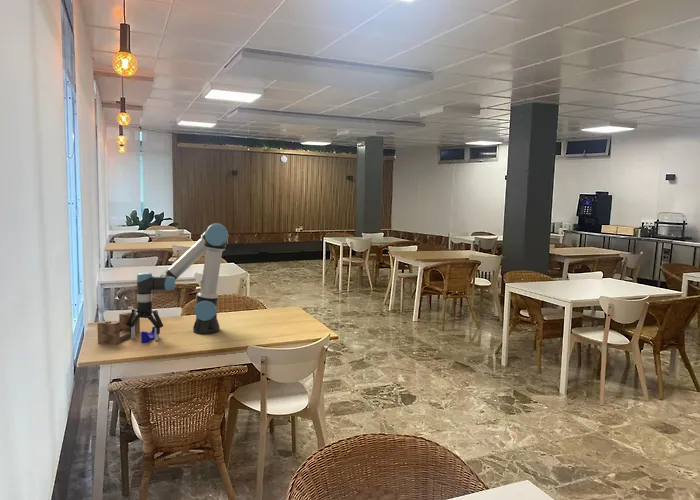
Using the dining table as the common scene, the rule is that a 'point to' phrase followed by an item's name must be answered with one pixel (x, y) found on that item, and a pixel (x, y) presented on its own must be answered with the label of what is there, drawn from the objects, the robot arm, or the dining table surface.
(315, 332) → the dining table surface
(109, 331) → the wooden crate
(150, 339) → the cable clip
